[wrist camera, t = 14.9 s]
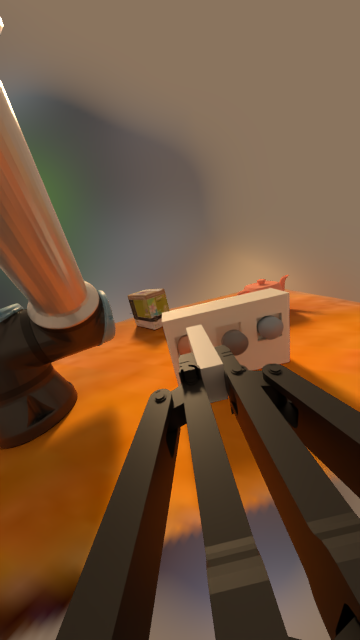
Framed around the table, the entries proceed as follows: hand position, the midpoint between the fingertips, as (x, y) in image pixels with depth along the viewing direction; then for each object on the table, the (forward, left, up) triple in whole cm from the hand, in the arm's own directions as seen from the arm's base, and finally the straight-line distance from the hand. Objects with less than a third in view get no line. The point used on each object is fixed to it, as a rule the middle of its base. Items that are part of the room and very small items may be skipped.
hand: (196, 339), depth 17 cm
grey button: (+8, +13, -11) cm, 19 cm away
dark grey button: (+16, +15, -11) cm, 25 cm away
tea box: (-12, +61, -18) cm, 64 cm away
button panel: (+8, +18, -18) cm, 26 cm away
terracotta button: (0, +15, -11) cm, 19 cm away
